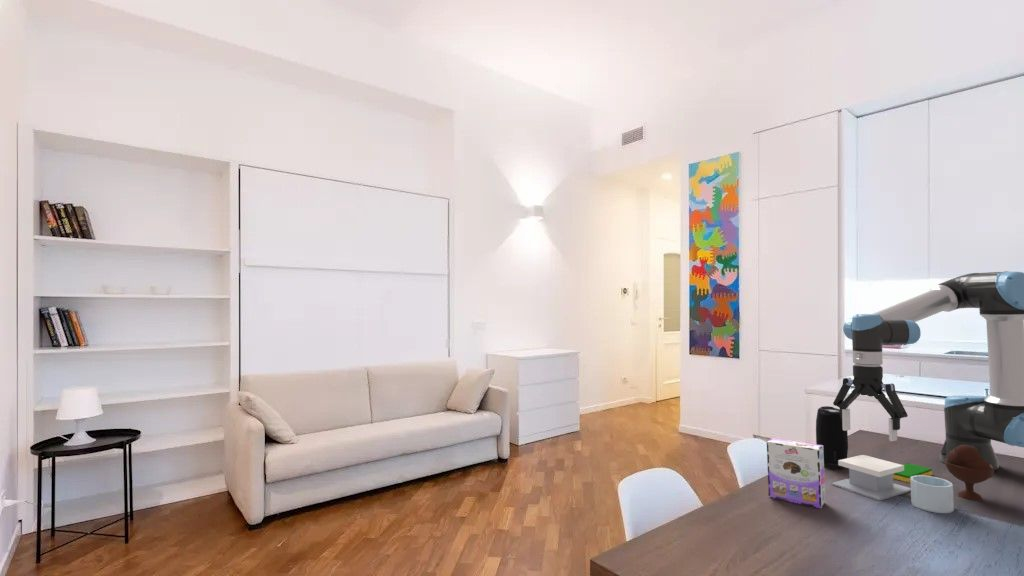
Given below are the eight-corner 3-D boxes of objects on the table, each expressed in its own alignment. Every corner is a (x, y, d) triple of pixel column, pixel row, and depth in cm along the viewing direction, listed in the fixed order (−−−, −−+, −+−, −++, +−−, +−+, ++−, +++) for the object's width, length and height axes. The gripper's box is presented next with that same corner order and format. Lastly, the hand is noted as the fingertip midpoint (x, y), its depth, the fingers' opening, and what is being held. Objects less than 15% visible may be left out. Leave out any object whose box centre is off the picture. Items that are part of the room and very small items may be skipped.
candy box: (826, 503, 148) (824, 444, 148) (821, 509, 143) (819, 449, 144) (773, 491, 157) (772, 436, 157) (767, 497, 153) (766, 440, 153)
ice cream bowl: (1005, 505, 144) (1003, 450, 144) (959, 502, 146) (957, 448, 146) (979, 490, 154) (977, 439, 154) (936, 488, 156) (934, 438, 157)
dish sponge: (932, 476, 168) (932, 468, 168) (909, 484, 162) (909, 476, 162) (907, 469, 174) (907, 462, 174) (884, 477, 168) (884, 469, 168)
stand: (864, 476, 168) (863, 457, 168) (912, 490, 155) (911, 470, 155) (831, 484, 161) (831, 465, 161) (879, 500, 149) (878, 479, 149)
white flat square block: (862, 459, 166) (862, 454, 166) (904, 470, 155) (904, 465, 155) (838, 465, 161) (838, 460, 161) (879, 477, 150) (879, 471, 150)
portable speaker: (820, 460, 185) (818, 404, 185) (851, 465, 178) (849, 408, 179) (813, 466, 178) (812, 408, 179) (845, 472, 172) (844, 412, 172)
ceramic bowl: (922, 498, 150) (922, 473, 150) (960, 509, 142) (959, 483, 142) (904, 503, 146) (903, 478, 146) (941, 515, 138) (940, 489, 138)
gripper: (820, 361, 169) (821, 427, 168) (905, 370, 146) (907, 447, 146) (835, 359, 172) (836, 424, 171) (920, 369, 149) (922, 443, 149)
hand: (868, 435), depth 158 cm, fingers open, 13 cm apart
